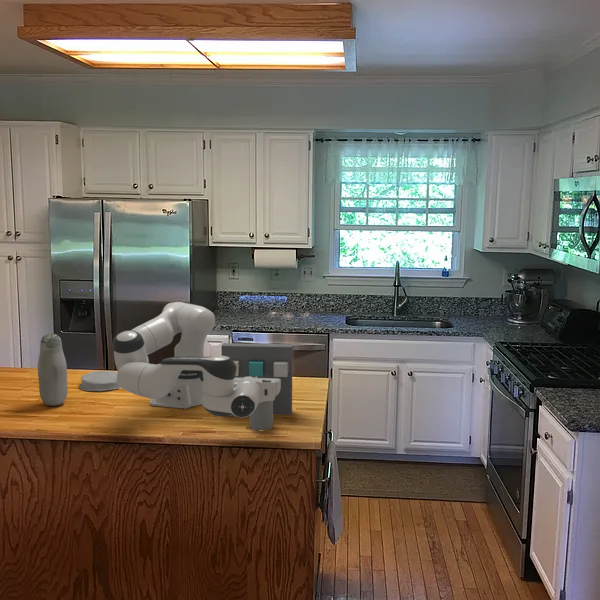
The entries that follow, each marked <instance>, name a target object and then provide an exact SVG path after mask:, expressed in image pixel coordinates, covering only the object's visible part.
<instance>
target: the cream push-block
mask: <svg viewBox="0 0 600 600" xmlns="http://www.w3.org/2000/svg"><path fill="white" fill-rule="evenodd" d="M233 361H234V363H235V364H236V366H237V369H236V375H235V376H238V375H239V373H240V360H233Z"/></svg>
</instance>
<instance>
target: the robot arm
mask: <svg viewBox="0 0 600 600" xmlns="http://www.w3.org/2000/svg"><path fill="white" fill-rule="evenodd" d="M215 325H216V316H215V314H214V313H213V312H212V311H211V310H209V309H208V308H206V307H204V306H202V305H197V304H193V303H186V302H182V301H175V302H169V303H167V304H166V305H165V306H163V309H162V311H161V313H160V314H159V315H157V316H155V317H154V318H152V319H150V320H148V321H146V322H144V323H141V324H139V325H138V326H136V327H134V328H132V329H131V330H123V331H121V332H119V333H117V334H116V335H115V337H114V338H113V339H112V350H113V357H114V364H115V367H116V370H117V372H118V373H117V382H118V385H119V386H120V387H121V388H120V389H123V390H125V391H126V392H128V393H131V394H133V395H136V396H139V397H144V398H146V399H147V398H148V399H150V400H149V405H150V406H153V407H155V406H156V407H164V408H173V409H183V408H184V409H189V408H192V407H197V406H201V407H202V408H203V409H204V410H205V411H206V412H207V413H209V414H210V415H212V416H215V417H222V418H223V417H232V416H234V417H237V418H241V419H242V418H243V419H244V418H247V417H250V415H251V414H252V413H253V412H254V411H255V410H256V408H257V406H258V404H259V403H261V402H267V401H274V400H275V396H277V395H278V394H279V392H280V389H281V380H280V379H278V378H257V377H255V376H249V377H244V378H235V375H236V369H237V366H236V364H235V363H234V361H233V360H232V359H231V358H230V357H227V356H222V355H215V356H204V349H205V347H204V346H205V342H206V338H207V336H208V334H210V333H211V332H212V331H213V330H214V327H215ZM180 333H181V335H180V336H181V337H180V341H179V342H178V343H177V344H176V345H175V346H174V353H173V354H174V356H172V357H167V358H163V359H162V360H161V362H160V363H158V364H154V363H150V360H149V356H148V355H150V354H152V353H155V352H157V351H158V350H160V349H162V348H164V347H166V346H168V345H170V344H171V343H172V342H173V340H174V337H175V336H176V335H177V334H180ZM184 409H183V410H184Z"/></svg>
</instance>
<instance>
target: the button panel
mask: <svg viewBox="0 0 600 600" xmlns="http://www.w3.org/2000/svg"><path fill="white" fill-rule="evenodd" d="M220 347H221V356H227V357H230V358H231V359H232V360H240V373H239V375H238V376H235V378H244V377H249V362H250V360H264V374H263V377H259V376H255V377H257V378H278V379H280V380H281V389H280V392H279V394H278V395H277V396H275V400H274V401H273V415H274V414H280V415H281V416H283V415H284V416H286V415H287V416H292V414H293V355H294V354H293V350H294V349H293V347H294V346H293V344H291V343H290V344H286V343H285V344H283V343H280V344H279V343H274V344H273V343H235V342H234V343H232V342H231V343H229V342H227V343H226V342H224V343H222V344H221V346H220ZM274 361H288V376H287V377H274Z"/></svg>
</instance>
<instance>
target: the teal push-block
mask: <svg viewBox="0 0 600 600" xmlns="http://www.w3.org/2000/svg"><path fill="white" fill-rule="evenodd" d="M263 374H264V360H250V362H249V376H259V377H263Z"/></svg>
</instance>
